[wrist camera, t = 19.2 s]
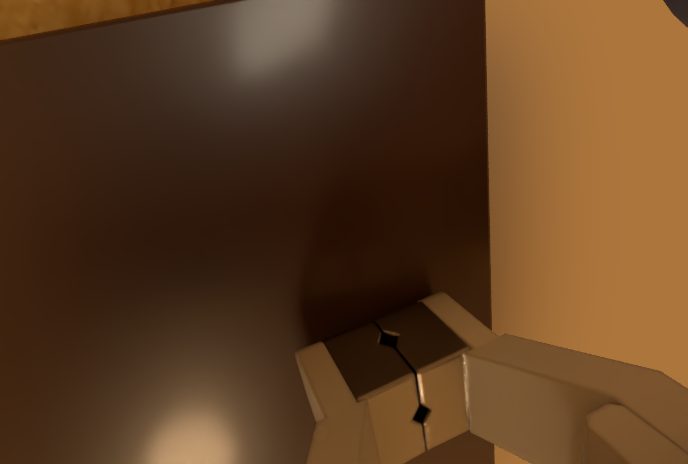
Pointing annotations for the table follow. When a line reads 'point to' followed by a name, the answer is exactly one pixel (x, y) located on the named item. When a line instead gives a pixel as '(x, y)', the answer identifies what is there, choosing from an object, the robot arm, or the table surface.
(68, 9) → the table surface
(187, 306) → the lid
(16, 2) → the table surface
